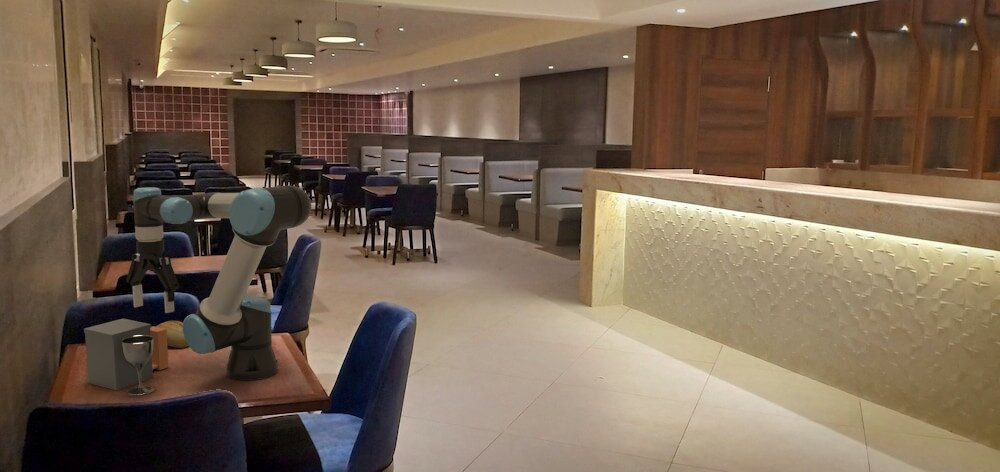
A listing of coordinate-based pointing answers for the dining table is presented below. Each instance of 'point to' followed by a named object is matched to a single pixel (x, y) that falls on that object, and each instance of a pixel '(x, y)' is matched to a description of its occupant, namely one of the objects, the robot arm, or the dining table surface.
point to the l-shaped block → (159, 348)
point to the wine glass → (138, 358)
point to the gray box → (113, 354)
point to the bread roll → (174, 333)
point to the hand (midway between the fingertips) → (153, 309)
